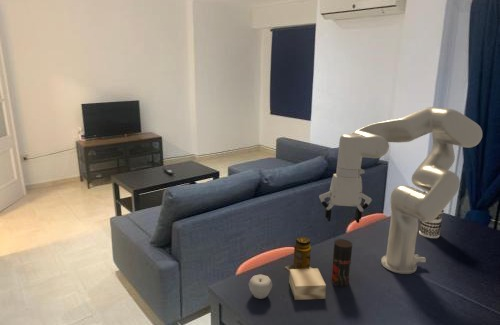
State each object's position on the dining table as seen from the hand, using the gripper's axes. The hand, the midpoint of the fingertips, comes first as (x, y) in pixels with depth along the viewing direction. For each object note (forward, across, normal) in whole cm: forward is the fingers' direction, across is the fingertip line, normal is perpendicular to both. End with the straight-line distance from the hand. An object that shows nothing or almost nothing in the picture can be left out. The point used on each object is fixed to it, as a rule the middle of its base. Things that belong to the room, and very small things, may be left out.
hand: (342, 220), depth 120 cm
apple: (+24, +27, +10) cm, 37 cm away
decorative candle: (+21, -50, -39) cm, 67 cm away
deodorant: (+23, -1, +1) cm, 23 cm away
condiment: (+24, +12, -7) cm, 27 cm away
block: (+23, +11, +6) cm, 27 cm away
